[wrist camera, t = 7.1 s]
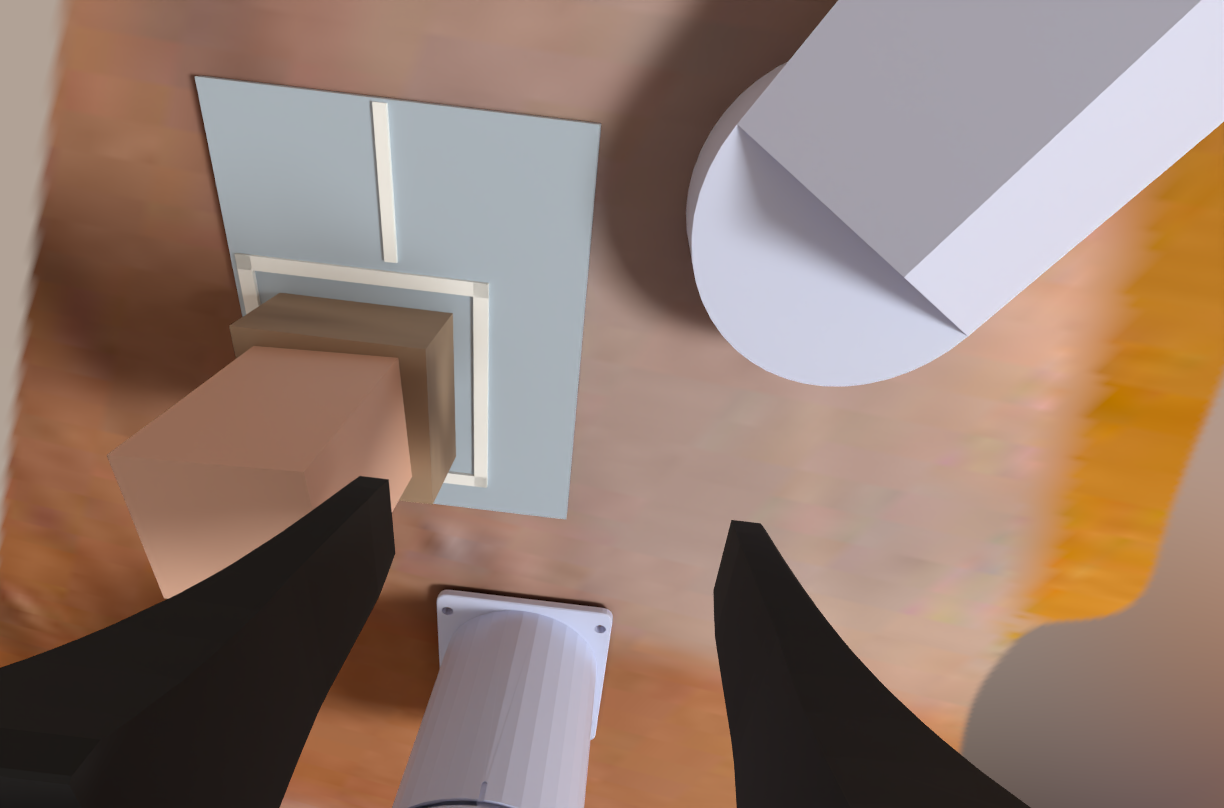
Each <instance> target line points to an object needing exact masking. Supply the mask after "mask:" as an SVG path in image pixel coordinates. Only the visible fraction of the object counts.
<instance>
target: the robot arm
mask: <svg viewBox="0 0 1224 808" xmlns="http://www.w3.org/2000/svg"><path fill="white" fill-rule="evenodd" d="M394 555H395V544H394V533H393V522H392V510H391V499H390V488H389V479H382V478H373V477H365V476H359V477H358V478H356V479H355V480H353V481H352V482H350V483H349V484H348V485H346V486H345V487H343V488H342V489H341V490H339V491H338V492H337V493H335V494H334V495H333V496H331V497H330V498H328V499H327V500H326V501H324V502H323V503H322V504H320V505H319V506H317V507H316V508H315V509H313V510H312V511H311V512H309V513H308V514H306V515H305V516H304V517H302V518H301V519H299V520H298V521H296V522H295V523H294V524H292V525H291V526H289V527H288V528H286V529H285V530H284V531H282V532H281V533H279V534H278V535H276V536H275V537H273V538H272V539H270V540H268V541H267V542H265V543H264V544H262V545H261V546H259V547H258V548H256V549H254V550H253V551H251V552H250V553H248V554H247V555H245V556H244V557H242V558H240V559H239V560H237V561H236V562H234V563H233V564H231V565H229V566H227V567H226V568H224V569H222V570H221V571H219V572H217V573H215V574H214V575H212V576H210V577H208V578H207V579H205V580H203V581H201V582H199V583H197V584H196V585H194V586H192V587H190V588H188V589H186V590H184V591H183V592H181V593H179V594H177V595H175V596H173V597H171V598H169V599H167V600H165V601H163V602H160V603H158V604H156V605H154V606H152V607H150V608H148V609H145V610H143V611H141V612H139V613H137V614H135V615H133V616H131V617H128V618H126V619H124V620H122V621H120V622H118V623H116V624H113V625H111V626H109V627H106V628H104V629H102V630H99V631H97V632H94V633H92V634H90V635H87V636H85V637H82V638H80V639H78V640H75V641H72V642H70V643H67V644H65V645H62V646H60V647H57V648H54V649H52V650H49V651H47V652H44V653H41V654H39V655H36V656H33V657H30V658H28V659H25V660H22V661H19V662H16V663H13V664H10V665H7V666H4V667H1V668H0V808H279V807H280V805H281V802H282V800H283V797H284V795H285V792H286V790H287V787H288V785H289V782H290V779H291V777H292V774H293V772H294V769H295V767H296V764H297V762H298V759H299V757H300V754H301V752H302V750H303V747H304V745H305V742H306V740H307V738H308V735H309V733H310V730H311V728H312V726H313V723H314V721H315V718H316V716H317V714H318V712H319V710H320V708H321V706H322V703H323V701H324V699H325V697H326V695H327V693H328V691H329V689H330V688H331V686H332V684H333V682H334V680H335V678H336V676H337V674H338V673H339V671H340V669H341V667H342V665H343V663H344V661H345V660H346V658H347V656H348V654H349V652H350V650H351V648H352V647H353V645H354V643H355V641H356V639H357V637H358V635H359V634H360V632H361V630H362V628H363V626H364V624H365V622H366V620H367V618H368V617H369V615H370V613H371V611H372V609H373V607H374V605H375V603H376V601H377V599H378V597H379V595H380V592H381V590H382V587H383V585H384V582H385V580H386V577H387V574H388V572H389V569H390V566H391V563H392V561H393V558H394ZM447 607H449V608H447ZM450 608H451V609H450ZM612 619H613V616H612V613H611V611H609V610H608V609H605V608H600V607H592V606H583V605H575V604H566V603H558V602H549V601H541V600H533V599H524V598H516V597H507V596H499V595H490V594H482V593H474V592H465V591H457V590H443V591H441V592H440V593H439V595H438V598H437V622H438V642H439V663H440V670H439V673H438V676H437V679H436V681H435V684H434V687H433V690H432V693H431V696H430V699H429V702H428V705H427V708H426V711H425V713H424V716H423V719H422V722H421V725H420V728H419V731H418V734H417V737H416V740H415V742H414V745H413V748H412V751H411V754H410V757H409V760H408V763H407V766H406V769H405V771H404V774H403V777H402V780H401V783H400V786H399V789H398V792H397V795H396V798H395V801H394V803H393V806H392V808H584V802H585V791H586V780H587V769H588V758H589V748H590V740H592V739H593V738H594V737H595V734H596V728H597V721H598V714H599V708H600V701H601V694H602V687H603V681H604V674H605V667H606V661H607V654H608V647H609V641H610V634H611V627H612ZM714 622H715V639H716V646H717V652H718V659H719V665H720V672H721V678H722V685H723V691H724V697H725V703H726V710H727V716H728V722H729V728H730V735H731V741H732V750H733V758H734V769H735V786H736V802H737V808H1030V807H1029V806H1028V805H1026V804H1025V803H1023V802H1022V801H1021V800H1019V799H1018V798H1017V797H1015V796H1014V795H1013V794H1011V793H1010V792H1008V791H1007V790H1006V789H1004V788H1003V787H1002V786H1000V785H999V784H998V783H996V782H995V781H994V780H992V779H991V778H989V777H988V776H987V775H985V774H984V773H983V772H981V771H980V770H979V769H978V768H976V767H975V766H974V765H973V764H971V763H970V762H969V761H968V760H967V759H965V758H964V757H963V756H962V755H960V754H959V753H958V752H957V751H956V750H954V749H953V748H952V747H951V746H950V745H948V744H947V743H946V742H945V741H943V740H942V739H941V738H940V737H939V736H938V735H937V734H935V733H934V732H933V731H932V730H931V729H930V728H929V727H927V726H926V725H925V724H924V723H923V722H922V721H921V720H920V719H919V718H917V717H916V716H915V715H914V714H913V713H912V712H911V711H910V710H909V709H908V708H907V707H906V706H905V705H904V704H903V703H902V702H900V701H899V700H898V699H897V698H896V697H895V696H894V695H893V694H892V693H891V692H890V691H889V690H888V689H887V688H886V687H885V686H884V685H883V684H882V683H881V682H880V681H879V680H878V679H877V678H876V677H875V676H874V675H873V673H872V672H871V671H870V670H869V669H868V668H867V667H866V666H865V665H864V664H863V663H862V662H861V660H860V659H859V658H858V657H857V656H856V655H855V654H854V653H853V652H852V651H851V649H850V648H849V647H848V646H847V645H846V643H845V642H844V641H843V640H842V639H841V637H840V636H839V635H838V634H837V632H836V631H835V630H834V629H833V627H832V626H831V625H830V624H829V622H828V621H827V620H826V618H825V617H824V616H823V615H822V613H821V612H820V611H819V609H818V608H817V607H816V605H815V604H814V602H813V601H812V600H811V598H810V597H809V595H808V594H807V593H806V591H805V590H804V588H803V587H802V586H801V584H800V583H799V581H798V580H797V578H796V577H795V575H794V574H793V572H792V571H791V569H790V568H789V566H788V565H787V563H786V562H785V560H784V559H783V557H782V556H781V554H780V552H779V551H778V549H777V548H776V546H775V545H774V543H773V541H772V540H771V538H770V537H769V535H768V533H767V532H766V530H765V529H764V527H763V526H762V525H761V524H760V523H752V522H744V521H735V520H731V524H730V528H729V532H728V536H727V540H726V544H725V548H724V552H723V556H722V560H721V563H720V567H719V571H718V575H717V579H716V583H715V587H714ZM597 625H602V626H597Z"/></svg>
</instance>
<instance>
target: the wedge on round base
mask: <svg viewBox="0 0 1224 808" xmlns="http://www.w3.org/2000/svg"><path fill="white" fill-rule="evenodd" d="M1223 122H1224V0H838V1H837V2H836V4H835V5H834V6H833V7H832V9H831V10H830V11H829V12H828V13H827V15H826V16H825V17H824V18H823V20H822V21H821V22H820V23H819V24H818V26H817V27H816V28H815V29H814V31H813V32H812V33H811V34H810V35H809V37H808V38H807V39H806V40H805V42H804V43H803V44H802V45H801V47H800V48H799V49H798V50H797V51H796V53H795V54H794V55H793V56H792V58H791V59H790V60H789V61H788V62H786V63H784V64H782V65H780V66H778V67H776V68H775V69H773V70H772V71H770V72H769V73H767V74H766V75H764V76H763V77H761V78H760V79H758V80H757V81H756V82H754V83H753V84H752V85H751V86H750V87H749V88H747V89H746V90H745V91H744V92H743V93H742V94H740V95H739V96H738V98H737V99H736V100H735V101H734V102H733V103H732V104H731V105H730V106H729V107H728V109H727V110H726V111H725V112H724V113H723V115H722V116H721V117H720V119H719V120H718V122H717V123H716V125H715V126H714V127H713V129H712V130H711V132H710V134H709V136H708V138H707V139H706V141H705V143H704V145H703V147H702V149H701V151H700V153H699V156H698V159H697V161H696V164H695V167H694V169H693V173H692V177H691V181H690V185H689V189H688V197H687V206H686V228H687V236H688V242H689V248H690V253H691V259H692V264H693V270H694V275H695V281H696V284H697V287H698V290H699V294H700V297H701V300H702V302H703V304H704V306H705V308H706V310H707V312H708V314H709V316H710V318H711V320H712V322H713V323H714V324H715V326H716V327H717V329H718V330H719V332H720V333H721V334H722V336H723V337H724V338H725V339H726V340H727V341H728V342H729V343H730V344H731V345H732V346H733V347H734V348H735V349H736V350H737V351H738V352H739V353H741V354H742V355H743V356H744V357H746V358H747V359H748V360H749V361H751V362H752V363H754V364H756V365H758V366H759V367H761V368H763V369H765V370H766V371H768V372H771V373H773V374H776V375H778V376H780V377H783V378H785V379H789V380H793V381H797V382H801V383H804V384H812V385H820V386H853V385H862V384H869V383H873V382H878V381H882V380H887V379H890V378H893V377H896V376H899V375H902V374H905V373H908V372H910V371H912V370H914V369H916V368H919V367H921V366H923V365H925V364H927V363H929V362H931V361H933V360H934V359H936V358H938V357H939V356H941V355H943V354H944V353H946V352H948V351H949V350H951V349H952V348H953V347H955V346H956V345H957V344H959V343H960V342H961V341H963V340H964V339H965V338H966V337H968V336H969V335H970V334H971V333H973V332H974V331H975V330H976V329H977V328H979V327H980V326H981V325H982V324H983V323H984V322H986V321H987V320H988V319H989V318H990V317H992V316H993V315H994V314H995V313H996V312H998V311H999V310H1000V309H1001V308H1002V307H1004V306H1005V305H1006V304H1007V303H1008V302H1009V301H1011V300H1012V299H1013V298H1014V297H1015V296H1017V295H1018V294H1019V293H1020V292H1021V291H1023V290H1024V289H1025V288H1026V287H1027V286H1029V285H1030V284H1031V283H1032V282H1033V281H1035V280H1036V279H1037V278H1038V277H1039V276H1040V275H1042V274H1043V273H1044V272H1045V271H1046V270H1048V269H1049V268H1050V267H1051V266H1052V265H1054V264H1055V263H1056V262H1057V261H1058V260H1060V259H1061V258H1062V257H1063V256H1064V255H1065V254H1067V253H1068V252H1069V251H1070V250H1071V249H1073V248H1074V247H1075V246H1076V245H1077V244H1079V243H1080V242H1081V241H1082V240H1083V239H1085V238H1086V237H1087V236H1088V235H1089V234H1090V233H1092V232H1093V231H1094V230H1095V229H1096V228H1098V227H1099V226H1100V225H1101V224H1102V223H1104V222H1105V221H1106V220H1107V219H1108V218H1110V217H1111V216H1112V215H1113V214H1114V213H1115V212H1117V211H1118V210H1119V209H1120V208H1121V207H1123V206H1124V205H1125V204H1126V203H1127V202H1129V201H1130V200H1131V199H1132V198H1133V197H1135V196H1136V195H1137V194H1138V193H1139V192H1140V191H1142V190H1143V189H1144V188H1145V187H1146V186H1148V185H1149V184H1150V183H1151V182H1152V181H1154V180H1155V179H1156V178H1157V177H1158V176H1160V175H1161V174H1162V173H1163V172H1164V171H1165V170H1167V169H1168V168H1169V167H1170V166H1171V165H1173V164H1174V163H1175V162H1176V161H1177V160H1179V159H1180V158H1181V157H1182V156H1183V155H1185V154H1186V153H1187V152H1188V151H1189V150H1190V149H1192V148H1193V147H1194V146H1195V145H1196V144H1198V143H1199V142H1200V141H1201V140H1202V139H1204V138H1205V137H1206V136H1207V135H1208V134H1210V133H1211V132H1212V131H1213V130H1214V129H1215V128H1217V127H1218V126H1219V125H1220V124H1221V123H1223Z"/></svg>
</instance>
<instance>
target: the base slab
mask: <svg viewBox="0 0 1224 808" xmlns="http://www.w3.org/2000/svg"><path fill="white" fill-rule="evenodd" d="M229 328H230V333H231V338H232V343H233V347H234V352H235V357H236V358H238V357H239V356H241V355H242V354H243V353H245V352H246V351H247V350H249V349H250V348H251V347H253V346H262V347H274V348H286V349H298V350H310V351H323V352H335V353H347V354H359V355H371V356H384V357H396V358H398V360H399V368H400V377H401V386H402V394H403V403H404V412H405V420H406V429H407V438H408V446H409V455H410V464H411V472H412V478H411V479H410V481H409V483H408V485H407V487H406V488H405V490H404V492H403V494H402V495H401V497H400V499H399V501H407V502H415V503H424V504H432V505H433V503H434V501H435V499H436V497H437V495H438V493H439V491H440V489H441V487H442V484H443V482H444V480H445V478H446V476H447V474H448V472H449V470H450V468H451V466H452V464H453V462H454V460H455V458H456V431H455V386H454V341H453V313H447V312H438V311H430V310H422V309H413V308H405V307H397V306H388V305H380V304H371V303H363V302H355V301H346V300H338V299H330V298H321V297H313V296H304V295H296V294H288V293H278V294H277V295H275V296H274V297H272V298H271V299H269V300H268V301H266V302H265V303H263V304H262V305H260V306H259V307H257V308H256V309H254V310H252V311H251V312H249V313H248V314H246V315H245V316H243V317H242V318H240V319H239V320H237V321H236V322H234V323H233V324H231V325H230V326H229Z"/></svg>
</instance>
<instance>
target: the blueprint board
mask: <svg viewBox="0 0 1224 808" xmlns="http://www.w3.org/2000/svg"><path fill="white" fill-rule="evenodd" d="M195 81H196V86H197V91H198V96H199V101H200V106H201V111H202V116H203V121H204V126H205V131H206V136H207V141H208V146H209V151H210V156H211V161H212V166H213V171H214V176H215V181H216V186H217V191H218V196H219V201H220V206H221V211H222V216H223V221H224V227H225V232H226V237H227V242H228V247H229V252H230V257H231V262H232V267H233V272H234V277H235V282H236V287H237V292H238V297H239V302H240V307H241V312H242V317H243V316H245V315H246V314H248V313H249V312H251V311H252V310H254V309H256V308H257V307H259V306H260V305H262V304H263V303H265V302H266V301H268V300H269V299H271V298H272V297H274V296H275V295H277V294H278V293H288V294H296V295H304V296H313V297H321V298H330V299H338V300H346V301H355V302H363V303H371V304H380V305H388V306H397V307H405V308H413V309H422V310H430V311H438V312H447V313H453V341H454V386H455V431H456V458H455V460H454V462H453V464H452V466H451V468H450V470H449V472H448V474H447V476H446V478H445V480H444V482H443V484H442V487H441V489H440V491H439V493H438V495H437V497H436V499H435V501H434V503H433V504H441V505H449V506H458V507H466V508H474V509H483V510H491V511H500V512H508V513H517V514H525V515H533V516H542V517H550V518H559V519H566V516H567V508H568V497H569V486H570V474H571V463H572V451H573V440H574V428H575V417H576V406H577V394H578V383H579V371H580V360H581V348H582V337H583V326H584V314H585V303H586V291H587V280H588V269H589V257H590V246H591V234H592V223H593V211H594V200H595V189H596V177H597V166H598V154H599V143H600V131H601V123H595V122H586V121H578V120H569V119H561V118H553V117H544V116H536V115H528V114H519V113H511V112H502V111H494V110H486V109H477V108H469V107H461V106H452V105H444V104H435V103H427V102H419V101H410V100H402V99H394V98H385V97H377V96H368V95H360V94H352V93H343V92H335V91H327V90H318V89H310V88H301V87H293V86H285V85H276V84H268V83H260V82H251V81H243V80H234V79H226V78H218V77H209V76H195Z"/></svg>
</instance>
